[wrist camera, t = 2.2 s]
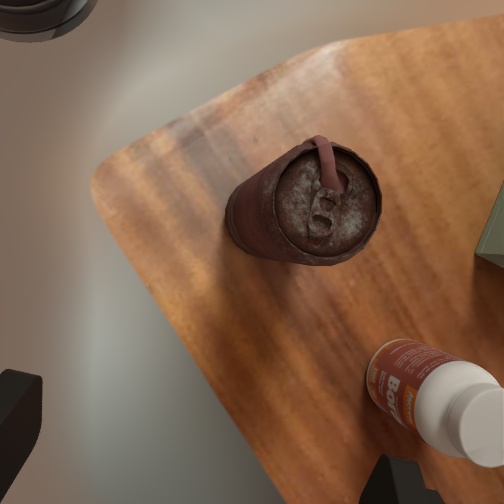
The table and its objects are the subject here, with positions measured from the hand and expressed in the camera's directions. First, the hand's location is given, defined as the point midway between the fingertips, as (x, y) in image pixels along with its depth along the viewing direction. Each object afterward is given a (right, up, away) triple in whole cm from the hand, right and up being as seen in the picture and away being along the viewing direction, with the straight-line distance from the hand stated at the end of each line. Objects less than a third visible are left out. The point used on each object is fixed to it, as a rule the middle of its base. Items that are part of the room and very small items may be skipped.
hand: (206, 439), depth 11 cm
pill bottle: (+13, -6, +27) cm, 31 cm away
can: (+2, +7, +25) cm, 26 cm away
